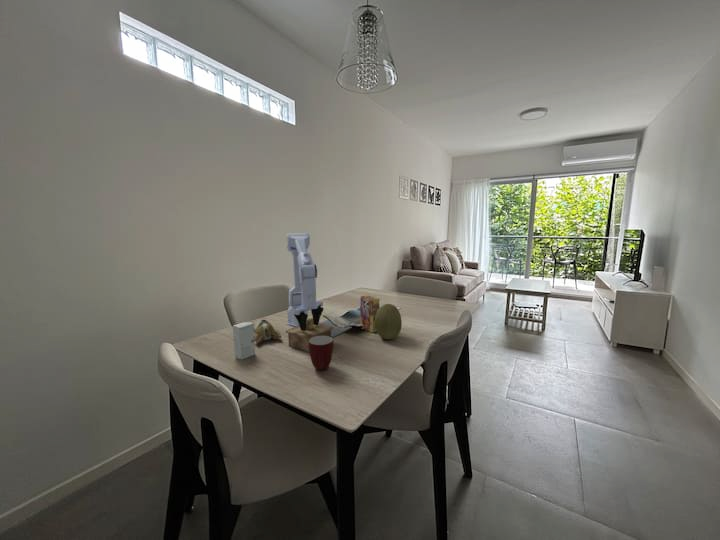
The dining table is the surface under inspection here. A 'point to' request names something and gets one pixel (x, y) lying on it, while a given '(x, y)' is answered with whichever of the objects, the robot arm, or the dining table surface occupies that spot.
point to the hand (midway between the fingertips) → (309, 327)
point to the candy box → (369, 312)
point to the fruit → (388, 321)
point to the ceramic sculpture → (264, 331)
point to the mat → (335, 328)
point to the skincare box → (244, 340)
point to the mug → (321, 351)
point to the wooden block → (310, 330)
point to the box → (302, 341)
